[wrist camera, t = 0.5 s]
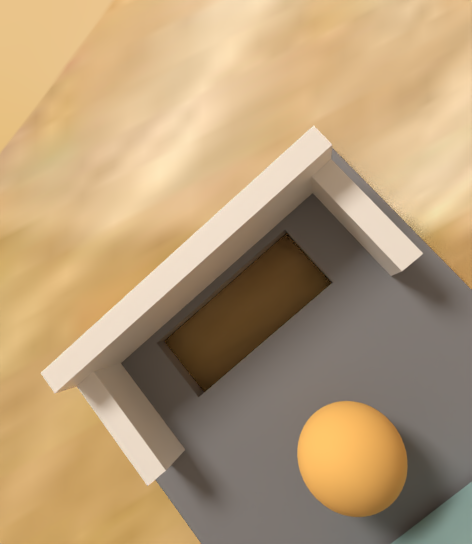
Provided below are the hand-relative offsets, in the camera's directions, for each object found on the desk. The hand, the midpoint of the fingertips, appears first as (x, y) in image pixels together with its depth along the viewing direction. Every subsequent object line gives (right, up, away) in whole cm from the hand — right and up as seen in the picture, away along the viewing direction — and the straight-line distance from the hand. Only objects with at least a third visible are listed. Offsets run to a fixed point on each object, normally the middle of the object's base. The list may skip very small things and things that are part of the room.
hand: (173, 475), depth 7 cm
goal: (+1, +2, +12) cm, 12 cm away
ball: (+5, -3, +9) cm, 11 cm away
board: (+6, -3, +12) cm, 14 cm away
